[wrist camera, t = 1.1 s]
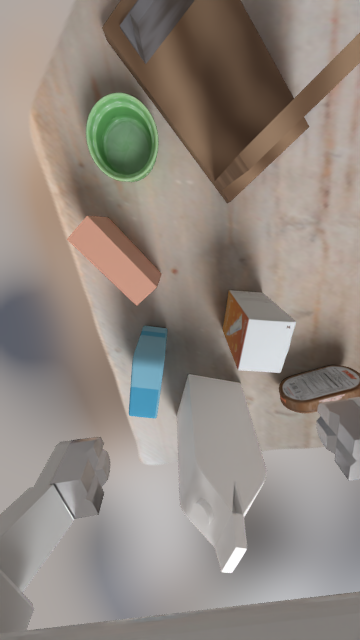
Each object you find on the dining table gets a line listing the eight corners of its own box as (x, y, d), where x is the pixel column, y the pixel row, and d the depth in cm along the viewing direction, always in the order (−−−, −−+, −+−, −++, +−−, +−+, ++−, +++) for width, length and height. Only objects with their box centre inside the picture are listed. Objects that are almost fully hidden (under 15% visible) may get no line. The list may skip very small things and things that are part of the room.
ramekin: (139, 199, 35) (134, 196, 31) (86, 158, 33) (72, 149, 29) (173, 141, 32) (172, 129, 28) (117, 91, 30) (107, 71, 26)
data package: (144, 322, 43) (132, 357, 32) (168, 325, 43) (164, 360, 32) (139, 374, 48) (128, 420, 37) (161, 376, 48) (156, 423, 37)
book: (108, 217, 36) (87, 215, 28) (161, 273, 39) (156, 287, 31) (92, 235, 37) (66, 239, 29) (145, 288, 40) (136, 305, 32)
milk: (224, 423, 53) (262, 588, 29) (176, 416, 52) (174, 579, 28) (241, 383, 49) (301, 538, 25) (188, 373, 48) (198, 527, 24)
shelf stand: (186, -74, 24) (197, -520, 10) (301, 132, 32) (408, 54, 17) (107, 40, 28) (27, -162, 13) (227, 203, 35) (262, 189, 20)
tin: (274, 389, 49) (291, 421, 42) (271, 378, 48) (289, 408, 40) (346, 370, 47) (378, 398, 40) (344, 357, 46) (378, 385, 39)
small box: (227, 289, 40) (248, 317, 28) (263, 291, 41) (298, 321, 29) (221, 330, 44) (237, 371, 32) (254, 332, 44) (282, 374, 32)
